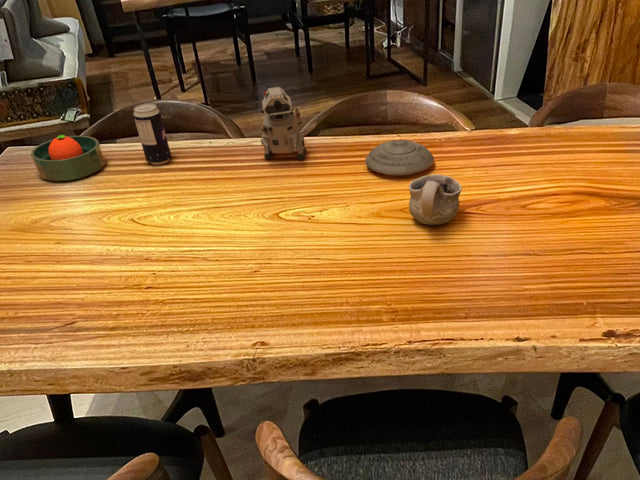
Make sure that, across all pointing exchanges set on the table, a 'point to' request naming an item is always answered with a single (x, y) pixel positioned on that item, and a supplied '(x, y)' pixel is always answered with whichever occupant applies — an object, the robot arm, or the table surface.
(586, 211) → the table surface
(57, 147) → the clementine
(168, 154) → the beverage can
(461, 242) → the table surface
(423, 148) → the flying saucer
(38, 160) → the bowl
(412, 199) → the mug
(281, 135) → the figurine
